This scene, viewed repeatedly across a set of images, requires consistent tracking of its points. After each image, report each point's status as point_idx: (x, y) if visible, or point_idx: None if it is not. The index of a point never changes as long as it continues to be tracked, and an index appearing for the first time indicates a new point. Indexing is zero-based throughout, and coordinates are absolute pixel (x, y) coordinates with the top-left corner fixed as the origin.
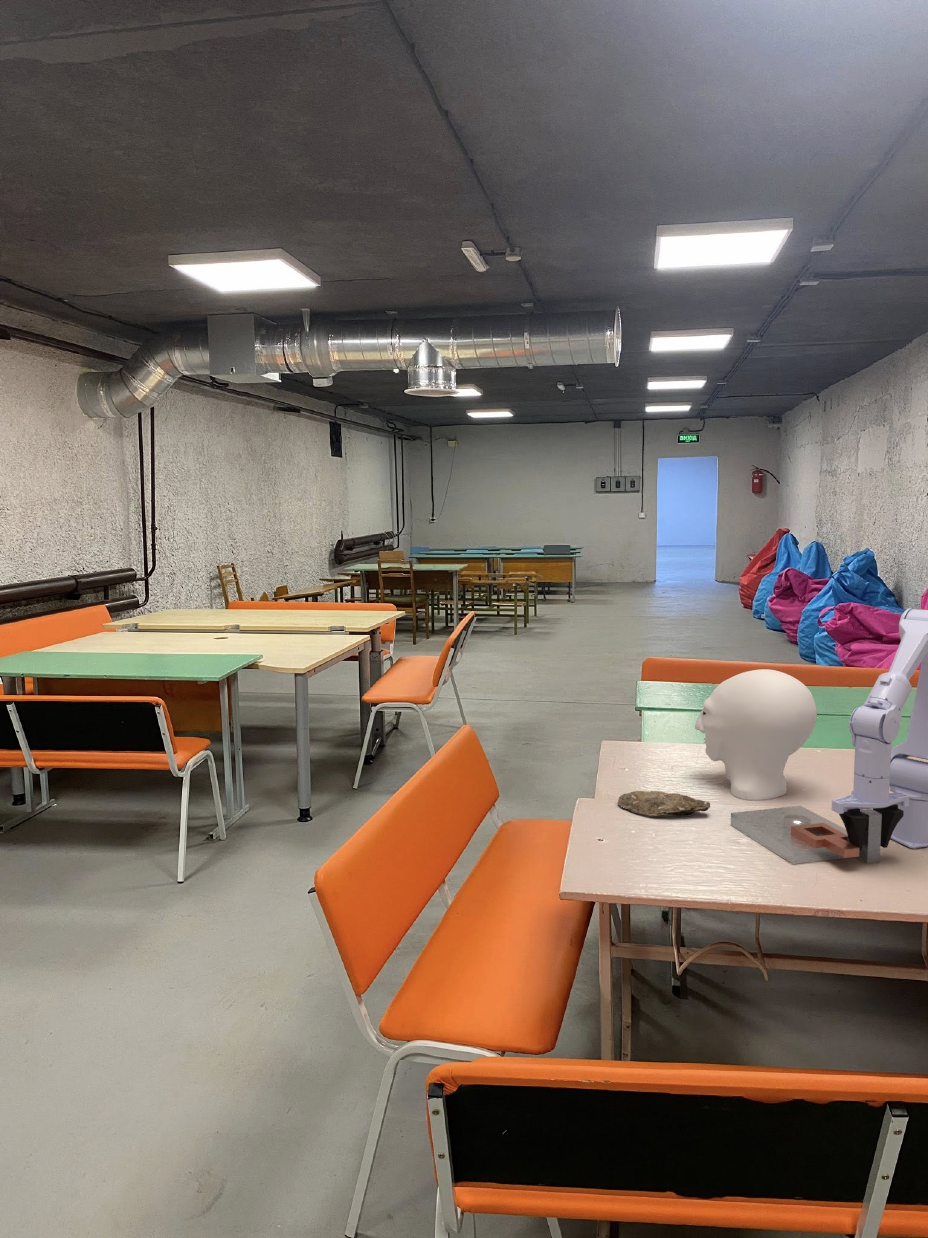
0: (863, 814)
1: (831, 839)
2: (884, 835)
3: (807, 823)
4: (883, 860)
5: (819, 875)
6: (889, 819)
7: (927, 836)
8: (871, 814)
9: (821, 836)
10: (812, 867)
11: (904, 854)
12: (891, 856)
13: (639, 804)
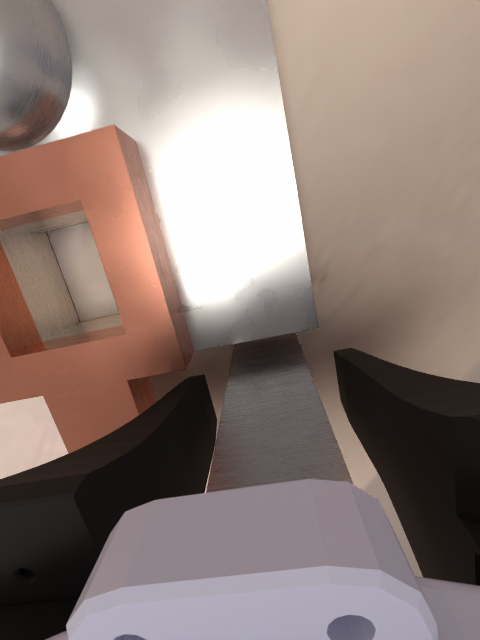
0: None
1: (73, 402)
2: (363, 433)
3: (1, 125)
4: (331, 361)
5: (48, 454)
6: (428, 571)
7: None
8: None
9: (31, 362)
10: (42, 398)
11: (461, 311)
12: (390, 327)
13: None
